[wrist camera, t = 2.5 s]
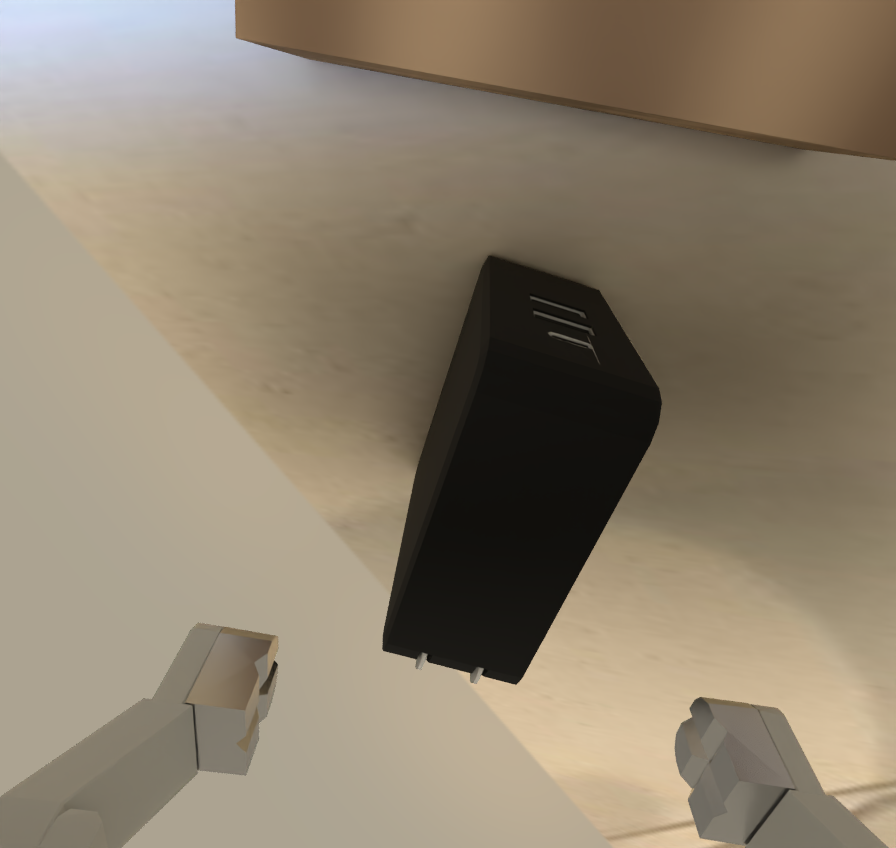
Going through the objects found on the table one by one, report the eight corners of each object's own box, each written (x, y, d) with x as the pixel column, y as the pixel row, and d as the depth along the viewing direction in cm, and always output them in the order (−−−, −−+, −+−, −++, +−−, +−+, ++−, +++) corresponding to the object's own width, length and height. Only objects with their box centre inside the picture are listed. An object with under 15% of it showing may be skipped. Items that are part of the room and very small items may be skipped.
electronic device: (597, 283, 21) (674, 408, 12) (505, 498, 26) (514, 699, 17) (487, 249, 21) (485, 351, 12) (415, 472, 25) (375, 664, 17)
